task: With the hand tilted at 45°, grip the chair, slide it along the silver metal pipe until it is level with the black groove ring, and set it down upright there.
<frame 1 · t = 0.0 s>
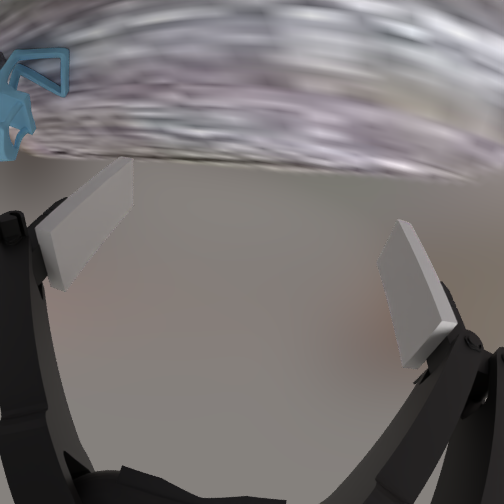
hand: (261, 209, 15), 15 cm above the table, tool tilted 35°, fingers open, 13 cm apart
chair: (42, 63, 24), on the table
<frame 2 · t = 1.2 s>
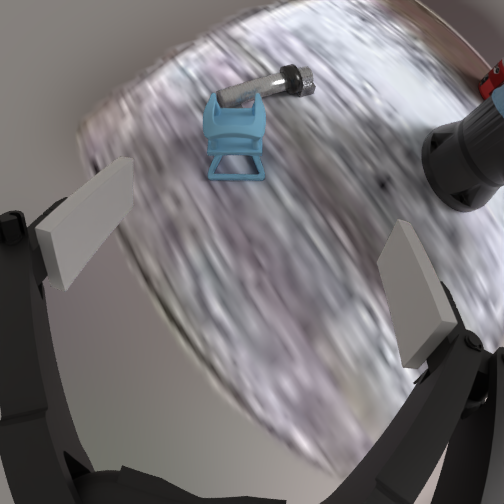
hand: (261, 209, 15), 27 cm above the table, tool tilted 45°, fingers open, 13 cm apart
chair: (237, 154, 43), on the table
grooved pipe: (266, 94, 44), on the table
canned food: (489, 96, 47), on the table
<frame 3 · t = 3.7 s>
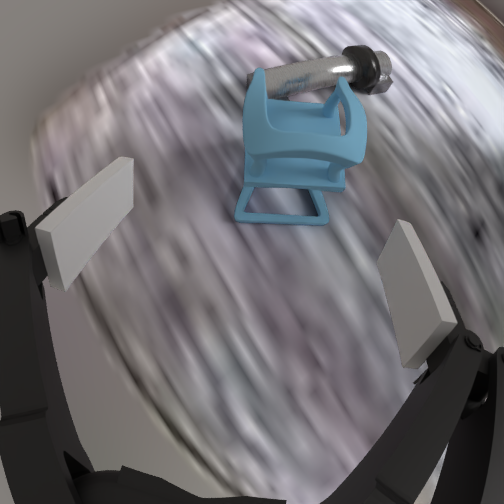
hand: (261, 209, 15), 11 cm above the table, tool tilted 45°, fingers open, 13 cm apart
chair: (281, 178, 27), on the table
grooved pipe: (321, 86, 28), on the table
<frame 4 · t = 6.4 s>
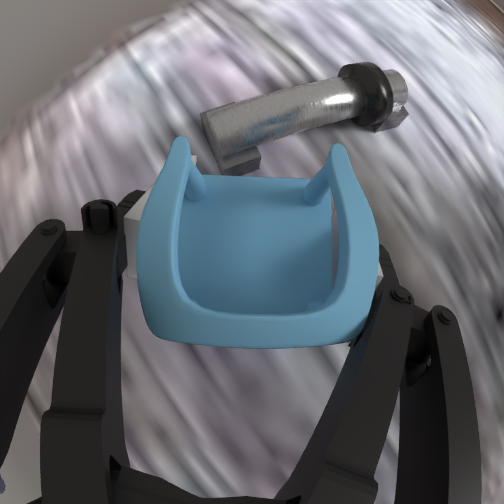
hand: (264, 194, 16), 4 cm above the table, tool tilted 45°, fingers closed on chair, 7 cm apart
chair: (247, 269, 20), on the table, touching gripper
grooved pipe: (308, 123, 21), on the table
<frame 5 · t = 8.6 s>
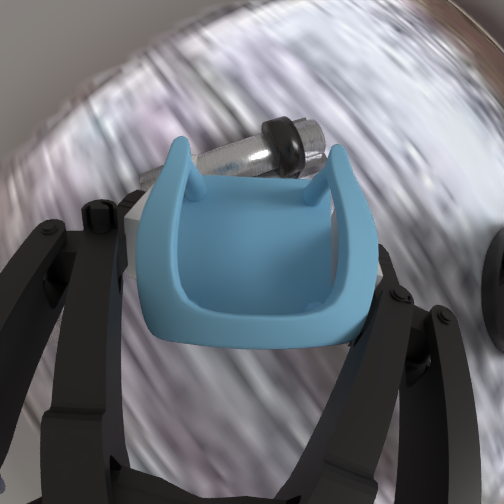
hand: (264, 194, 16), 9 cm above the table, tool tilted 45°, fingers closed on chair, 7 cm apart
chair: (247, 269, 20), point 5 cm above the table, touching gripper
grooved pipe: (234, 174, 26), on the table
when the fingers open (5 cm above the table, at t = 10.8 s): chair drops 1 cm, on the table.
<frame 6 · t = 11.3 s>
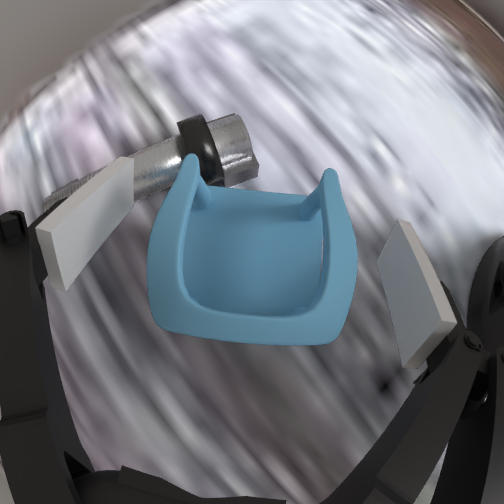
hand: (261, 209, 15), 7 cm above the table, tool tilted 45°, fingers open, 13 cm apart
chair: (245, 272, 21), on the table
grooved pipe: (152, 186, 21), on the table
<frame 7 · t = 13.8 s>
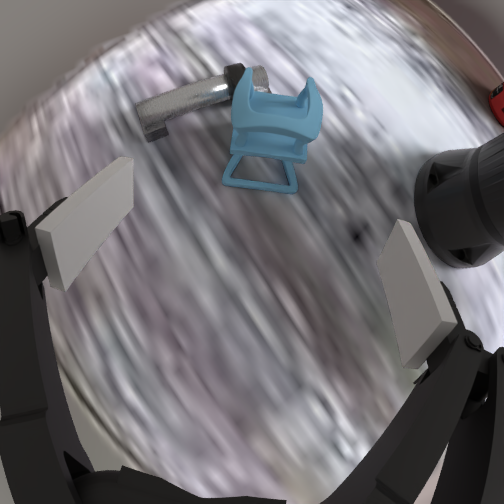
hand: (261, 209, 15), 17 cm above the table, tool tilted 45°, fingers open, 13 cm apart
chair: (262, 154, 33), on the table
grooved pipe: (203, 105, 33), on the table
canned food: (500, 111, 38), on the table
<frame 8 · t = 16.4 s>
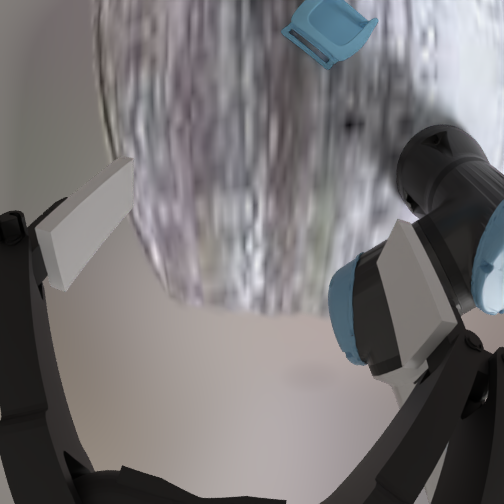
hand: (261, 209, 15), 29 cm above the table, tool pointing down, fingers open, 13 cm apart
chair: (325, 29, 31), on the table
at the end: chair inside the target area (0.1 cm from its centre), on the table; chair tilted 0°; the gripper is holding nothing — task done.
